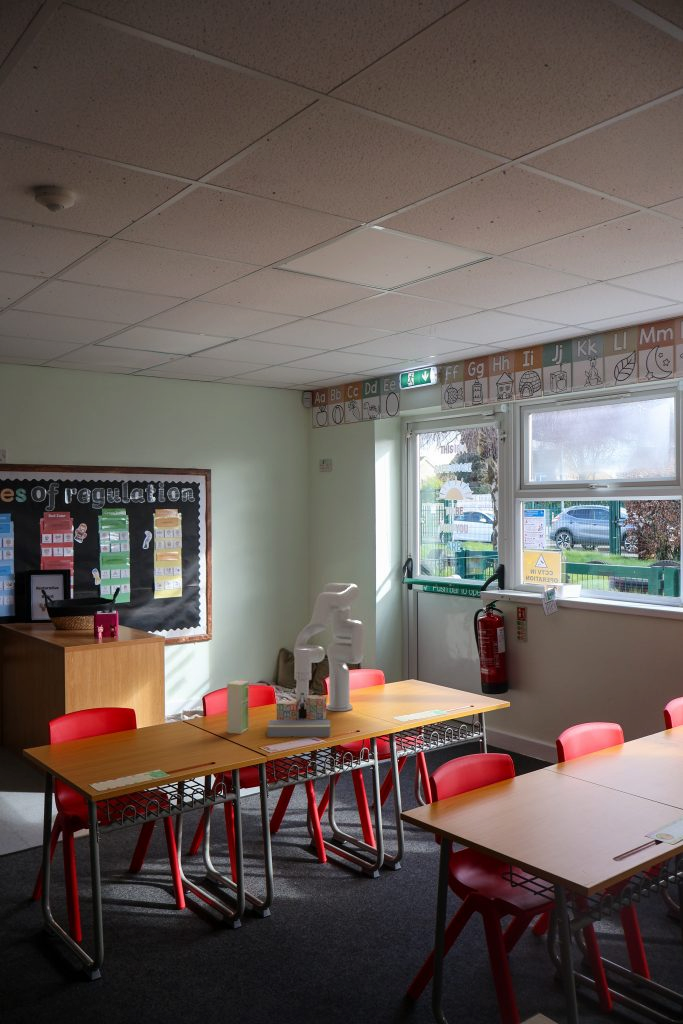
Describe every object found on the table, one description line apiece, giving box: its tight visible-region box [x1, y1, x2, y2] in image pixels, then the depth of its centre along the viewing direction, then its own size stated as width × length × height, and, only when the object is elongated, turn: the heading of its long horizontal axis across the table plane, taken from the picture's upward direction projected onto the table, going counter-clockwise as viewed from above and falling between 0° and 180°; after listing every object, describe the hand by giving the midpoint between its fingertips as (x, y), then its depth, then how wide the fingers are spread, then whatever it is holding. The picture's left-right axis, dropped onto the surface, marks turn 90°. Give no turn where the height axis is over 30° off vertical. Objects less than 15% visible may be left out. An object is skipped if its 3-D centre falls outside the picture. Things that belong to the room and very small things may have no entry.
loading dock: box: [266, 719, 331, 738], centre depth 362 cm, size 12×26×4 cm, turn 90°
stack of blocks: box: [276, 694, 327, 720], centre depth 378 cm, size 21×6×12 cm, turn 78°
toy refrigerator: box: [226, 679, 250, 735], centre depth 365 cm, size 8×7×21 cm
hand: (302, 715), depth 378 cm, fingers closed on stack of blocks, 7 cm apart
